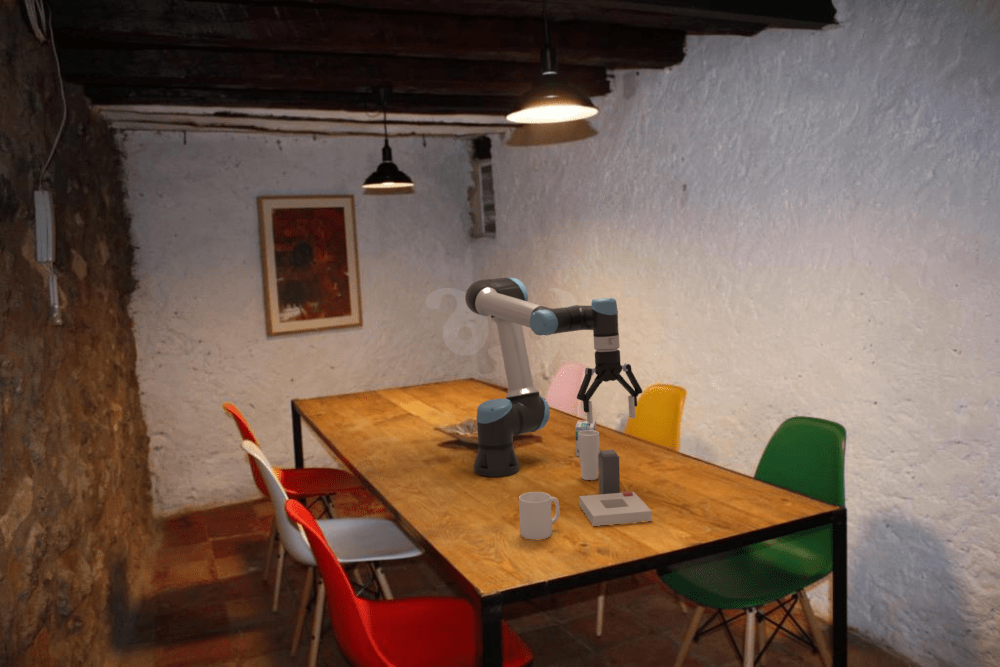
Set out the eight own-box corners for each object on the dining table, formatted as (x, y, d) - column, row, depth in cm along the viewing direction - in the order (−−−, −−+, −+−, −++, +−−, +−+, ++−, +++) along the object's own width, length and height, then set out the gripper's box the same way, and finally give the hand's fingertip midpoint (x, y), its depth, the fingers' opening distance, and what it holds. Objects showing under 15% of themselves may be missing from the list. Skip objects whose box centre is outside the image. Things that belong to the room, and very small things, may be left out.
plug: (603, 497, 220) (602, 454, 218) (599, 492, 224) (598, 450, 223) (620, 496, 220) (619, 453, 219) (615, 490, 225) (614, 449, 224)
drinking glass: (602, 475, 240) (601, 430, 238) (598, 482, 234) (597, 435, 232) (581, 474, 242) (580, 429, 240) (577, 481, 236) (575, 434, 234)
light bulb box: (594, 457, 261) (594, 427, 260) (575, 456, 263) (574, 427, 261) (597, 449, 272) (596, 420, 270) (578, 448, 273) (577, 419, 272)
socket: (593, 526, 197) (593, 513, 197) (579, 506, 213) (579, 493, 213) (651, 521, 199) (651, 508, 199) (633, 501, 215) (633, 489, 215)
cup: (514, 533, 195) (512, 496, 194) (550, 522, 201) (549, 486, 200) (532, 543, 188) (531, 504, 187) (569, 532, 195) (568, 494, 193)
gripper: (571, 355, 216) (576, 427, 218) (651, 347, 222) (655, 417, 224) (563, 352, 223) (568, 422, 225) (640, 345, 229) (644, 413, 231)
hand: (611, 420), depth 224 cm, fingers open, 13 cm apart
